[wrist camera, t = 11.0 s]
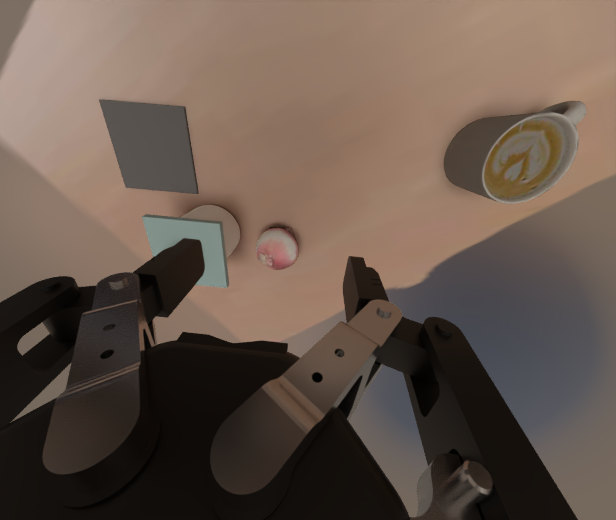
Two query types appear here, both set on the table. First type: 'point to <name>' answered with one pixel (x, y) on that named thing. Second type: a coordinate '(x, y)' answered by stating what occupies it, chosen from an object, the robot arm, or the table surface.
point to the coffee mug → (515, 153)
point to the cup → (225, 217)
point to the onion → (277, 248)
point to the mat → (151, 145)
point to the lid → (210, 234)
